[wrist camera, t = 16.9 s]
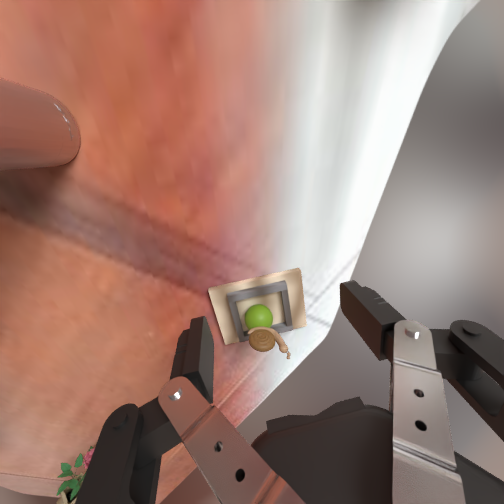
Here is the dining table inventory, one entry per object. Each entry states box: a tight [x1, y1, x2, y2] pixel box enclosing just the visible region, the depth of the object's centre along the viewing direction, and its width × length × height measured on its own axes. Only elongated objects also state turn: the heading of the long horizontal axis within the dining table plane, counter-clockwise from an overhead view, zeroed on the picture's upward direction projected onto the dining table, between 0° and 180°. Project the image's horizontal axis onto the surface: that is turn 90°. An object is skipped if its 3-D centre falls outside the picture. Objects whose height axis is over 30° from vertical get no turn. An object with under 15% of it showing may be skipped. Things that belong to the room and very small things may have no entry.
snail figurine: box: [245, 304, 290, 359], centre depth 41 cm, size 5×6×12 cm
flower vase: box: [56, 446, 95, 504], centre depth 57 cm, size 12×12×35 cm
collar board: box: [208, 268, 307, 345], centre depth 46 cm, size 18×14×3 cm
